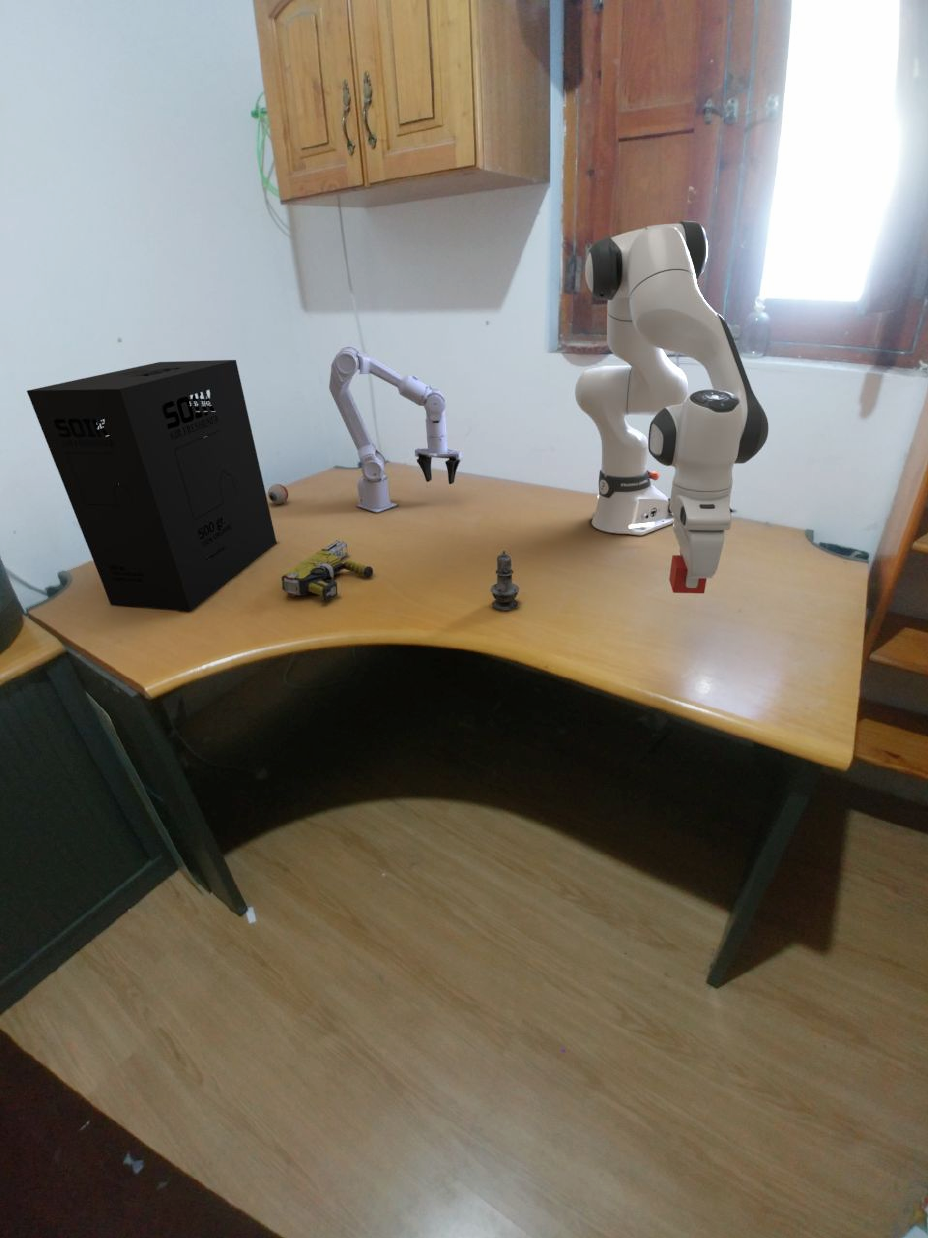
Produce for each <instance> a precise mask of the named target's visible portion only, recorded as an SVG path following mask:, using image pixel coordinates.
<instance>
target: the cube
mask: <svg viewBox="0 0 928 1238" xmlns="http://www.w3.org/2000/svg"><path fill="white" fill-rule="evenodd" d="M687 571H688V570H687V567H686V564H685V561H684V559H683V556H682V555H680V554H678V555H677V554H673V555H672V557H671V563H670V570H669V577H668V580H669V584H670V588H671V591H672V593H674V594H703V595H704V594H705V593H706V586H707V579H708V578H699V579H698V585H697V587H696V588H687V587H686V584H685V577H686V575H687Z"/></svg>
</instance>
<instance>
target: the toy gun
mask: <svg viewBox="0 0 928 1238" xmlns="http://www.w3.org/2000/svg"><path fill="white" fill-rule="evenodd" d="M345 548H348V543H347V542H346V541H343V540H342V541H341V540H339V539H338V540H335V541H334V542H333V543H331V544H330V545H327V546H326V547H325V548H321V549H320V550H318V551H317V552H316V553H314V554H312V555H311V556H310V557H307V559H305V560H304V561H302V562H300V563H299V564H298V565H296V566H294V567H293V568H291V569H290V570H288V571H287V572H285V573H284V574H282V576H281V585H282V586H281V587H282V590H283V591H284V592H285V593H287V596H292V597H295V596H302V597H303V596H307V595H310V594H315V595H318V596H320V597H322V601H323V602H325V603H327V602H328V601H330V600H332V599H333V598H335V597H337V596H338V594H339V593H338V582H337V581H336V580H334V578H335V577H334V575H336V574H337V573H340V572H342V571H343V570H346V571H349V572H353V573H355V574H358V575H361V576H364V577H366V578H370V577H372V576H373V575H374V569H373V567H372V566H370V565H365V564H361V563H359V562H357V561H352V560H349V559H347V560H345V561H344V562H342V560H343V558H344V557H347V556H348V554H349V553H348V549H346V552H344V549H345Z"/></svg>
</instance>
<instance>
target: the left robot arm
mask: <svg viewBox="0 0 928 1238" xmlns="http://www.w3.org/2000/svg"><path fill="white" fill-rule="evenodd" d="M358 370H359V372H358ZM357 372H358V373H359V375H369V374H371V375H373V376H375V377H376V378H379V379H380V380H382V381H384V382H386V383H388V384H389V385H392V386H393V387H395V388H397V390H398V393H399V396H401V397H403V398H405V399H407V400H409V401H411V402H412V403H414V404H416V405H417V406H418V407H423V408H424V410H425V417H426V418H425V429H426V443H427V448H419V447H418V448H416V449H414V456H415V457H416V462H417V464H418V465H419V467H420V469H421V471H422V473H423V475H424V479H425V481H426V483H429V482H431V481H432V479H433V475H432V460H433V459H432V458H436V459H437V458H438V459H447V460H445V462H444V464H445V467H446V471H447V478H448V480H447V481H448V484H449V485H452V484H454V483H455V480H456V473H457V471H458V467H459V464H460V463H461V460H462V459H463V451H458V450H454V449H449V448H448V447H449V446H448V433H447V432H448V431H447V418H446V411H445V410H446V405H447V403H446V400H445V397H444V395H443V393H442V392H441V391H439V389H437V388H434V386H433V385H431V384H430V385H428V384H425V382H422V381H421V380H419V377H418V376H417V375H415V374H414V375H413V376H412V375H411V374H408V375H404V376H402V375H401V374H399V373H398V372H396V371H394V370H393V369H391V368H390V367H388V366H387V365H385V364H383V363H382V362H380V361H379V360H377V359H376V358H374V357H373V356H370V355H369V354H367V353H365V352H364V351H358V350H357V349H356V348H354V347H352V346H345V347H343V348H341V349H340V350H339V352H337V353H336V355H335V356H334V358H333V361H332V362H331V364H330V376H329V384H328V388H329V389H328V390H329V391H330V392H329V393H330V394H331V396H332V398H333V401H334V403H335V405H336V407H337V409H338V411H339V413H340V416H341V418H342V420H343V422H344V424H345V426H346V429H347V430H348V431H347V432H348V433H349V435H350V438H351V440H352V442H353V444H354V446H355V448H356V450H357V454H358V460H359V461H360V463H361V474H362V476H361V477H359V479H358V481H357V492H358V499H359V504H357V508H362V509H364V510H367V511H370V512H373V513H375V514H377V513H381V512H383V511H386V510H389V509H392V508H394V507H397V506H398V503H395V502H391V495H390V494H391V493H390V485H389V478H388V477H389V476H388V474H387V473H386V472H385V466H386V458H385V455H383V454H382V453H381V452H380V451H379V450H378V449H377V446H376V445H375V443H374V442H373V440H372V438H371V435H370V434H369V431H368V428H367V427H366V424H365V422H364V420H363V417H362V416H361V413H360V411H359V409H358V406H357V404H356V402H355V400H354V398H353V395H352V393H351V391H350V389H349V387H350V384H351V382H352V379H353V377H354V376H355V374H356V373H357Z"/></svg>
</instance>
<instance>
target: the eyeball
mask: <svg viewBox="0 0 928 1238" xmlns="http://www.w3.org/2000/svg"><path fill="white" fill-rule="evenodd" d="M267 490H268V491H267V497H268V499H269V500H270V501H271V502H272V503H274V504H276V505H281V504H284V503H285V502H286V501H287V500H288V498H289V491H288V489H287V487H286V486H285V485H283V484H281V483H275V484H273V485H271V486H270V487H269V488H268V489H267Z"/></svg>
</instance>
